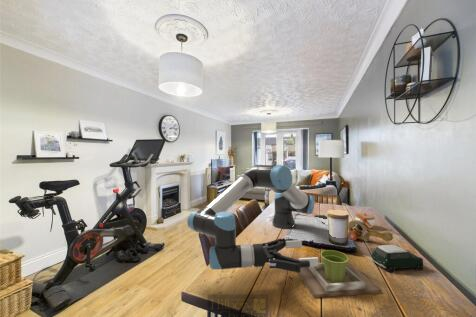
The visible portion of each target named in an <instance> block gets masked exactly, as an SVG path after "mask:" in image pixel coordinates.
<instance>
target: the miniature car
mask: <svg viewBox="0 0 476 317" xmlns="http://www.w3.org/2000/svg"><path fill="white" fill-rule="evenodd" d="M371 253H372V254H370V259H371V260H372V262H374V263H376V264H377V265H379V267H382V268H384V269H386V271H387V272H389V273H394V272H395V271H396V269H415V270H416V271H422V270H423V269H424V266H425V264H424V259H423V258H422V257H419V256H417V255H416V254H414V253H412V252H410V251H408V250H406V249H405V248H403V247H401V246H398V245H395V244H382V245H376V248H375V250H374V251H372V252H371Z"/></svg>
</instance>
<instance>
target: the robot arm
mask: <svg viewBox="0 0 476 317" xmlns="http://www.w3.org/2000/svg"><path fill="white" fill-rule="evenodd" d="M254 188H263V189H264V188H265V189H271V191H272V192H274V215H273V218H272V221H271V222H272V226H274V227H276V228H279V229H292V228H293V227H292V226H293V225H294V224H295V225H296V221H295V218H294V215H293V212H294V213H300V214H306V215H312V214H313V213H314V210H315V196H314V195H311V194H310V195H308V194H306V192H305V191H302V190H300V189H299V188H297V186H296V185H295V184H294V183H293V174H292V170H291V169H290V167H288V166H286V165H282V164H277V165H274V164H273V165H272V164H269V165H268V164H257V165H254V166H251V167H249V168H248V169H246V170H244V171H242V173H240V174H239V175H238V176H237V178H236V180H235V181H234V182H233V183H232V184H230V185H229V186H227V188H226V189H225V190H224V191H222V192H221V193H220V194H219V195H218V196H217V197H215V198H214V199H213V200H212V201H211V202H210V203H209V204H207V205H206V206H205V207H204V208H203V209H201V210H194V211H192V212H190V214H188V218H187V226H188V227H189V229H191V230H192V231H194V232H196V233H200V234H204V235H206V236H209V237H212V238H214V245H212V246H210V247H209V254H208V256H209V267H210V269H211V270H229V269H243V268H244V269H246V268H252V267H255V268H259V267H261V268H262V267H264V266H265V264H266V263H269V268H270V269H279V270H284V271H290V272H292V273H293V272H294V273H297V272H298V273H299V272H300V268H302V267H315V266H318V263H319V257H318V256H314V257H313V256H312V257H299V258H298V259H295V258H293V257H290V256H286V255H282V253H280V252H279V251H281V250H283V249H284V248H286V249H297V248H298V249H299V248H303V241H302V239H297V240H294V239H293V240H286V239H285V238H278V239H274V240H271V241H268V242H262V243H252V245H251V244H250V243H246V244H237V240H236V238H237V235H236V233H237V232H236V230H237V229H236V228H237V224H236V215H235V214H234V213H233V212H230V211H228V210H230V209H231V208H232V206H234V205H235V204H236V203H237V202H238V201H239V200H240V199H241V198H242V197H243V196H244V195H245V194H246V193H247V192H250V191H252V190H253V189H254ZM291 227H292V228H291ZM298 273H297V274H298Z"/></svg>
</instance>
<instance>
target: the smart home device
mask: <svg viewBox="0 0 476 317" xmlns="http://www.w3.org/2000/svg"><path fill="white" fill-rule="evenodd" d="M315 217H319V218H323V219H327V217H328V216H326V215H324V214H320V215H319V214H315V215H314V218H315Z"/></svg>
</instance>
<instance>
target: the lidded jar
mask: <svg viewBox="0 0 476 317" xmlns="http://www.w3.org/2000/svg"><path fill="white" fill-rule="evenodd" d="M356 214H359V215H361V216H362V217H363V218H366V219H367V221H368V222H369V223H370V224H371V225H372V226H373V227H374V225H375V216H374V215H373V214H369V213H366V212H363V213H361V212H360V213H358V212H357V213H355V214H354V216H355V217H354V218H355V219H354V220H359V221H360V218H359V217H358V216H357V215H356ZM366 225H367V224H366ZM367 226H368V225H367ZM368 227H369V226H368ZM369 228H371V229H372V227H369Z"/></svg>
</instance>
